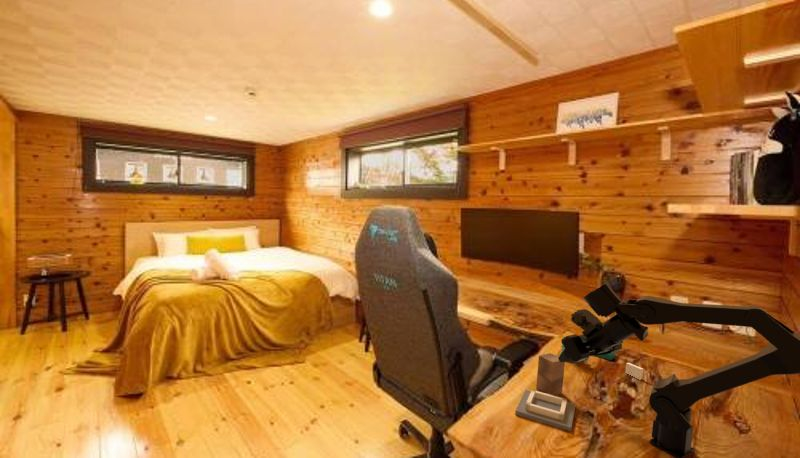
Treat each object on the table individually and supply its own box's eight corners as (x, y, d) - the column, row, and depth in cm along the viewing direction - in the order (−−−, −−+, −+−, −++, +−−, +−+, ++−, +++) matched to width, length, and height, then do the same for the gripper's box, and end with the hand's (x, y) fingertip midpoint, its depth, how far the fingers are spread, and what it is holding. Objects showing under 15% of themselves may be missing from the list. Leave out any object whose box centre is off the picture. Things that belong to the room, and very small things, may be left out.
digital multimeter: (612, 362, 136) (612, 354, 135) (568, 349, 145) (569, 342, 145) (616, 356, 141) (617, 348, 141) (574, 345, 151) (574, 338, 150)
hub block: (562, 393, 109) (565, 359, 108) (550, 396, 107) (553, 362, 106) (547, 385, 113) (550, 353, 113) (536, 388, 111) (538, 355, 110)
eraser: (627, 373, 126) (628, 362, 125) (642, 379, 121) (643, 368, 121) (625, 373, 125) (626, 363, 125) (639, 380, 121) (640, 369, 120)
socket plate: (575, 407, 101) (576, 398, 101) (570, 431, 90) (571, 421, 90) (525, 393, 108) (525, 384, 108) (515, 414, 96) (515, 404, 96)
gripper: (614, 299, 103) (574, 326, 113) (571, 305, 94) (531, 334, 104) (642, 337, 97) (597, 362, 107) (598, 348, 87) (554, 374, 98)
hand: (570, 357), depth 104 cm, fingers open, 9 cm apart
